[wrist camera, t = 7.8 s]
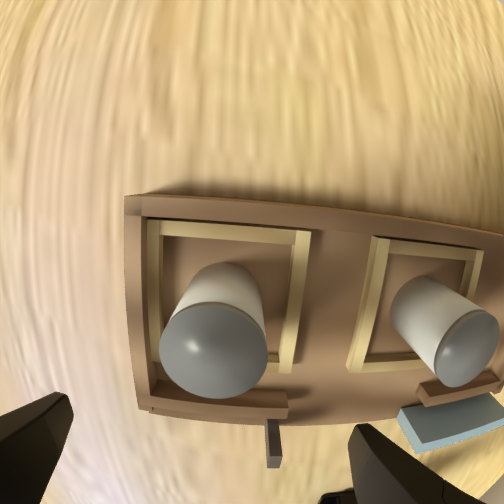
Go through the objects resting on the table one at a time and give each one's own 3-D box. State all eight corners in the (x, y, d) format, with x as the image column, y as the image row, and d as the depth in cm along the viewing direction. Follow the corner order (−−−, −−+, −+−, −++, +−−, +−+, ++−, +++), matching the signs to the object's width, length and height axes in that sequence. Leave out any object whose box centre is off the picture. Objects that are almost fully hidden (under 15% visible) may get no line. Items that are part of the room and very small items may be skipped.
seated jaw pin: (432, 334, 19) (482, 381, 12) (383, 336, 19) (427, 392, 12) (448, 277, 18) (508, 312, 12) (397, 274, 18) (455, 314, 11)
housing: (475, 393, 22) (502, 423, 17) (153, 403, 21) (134, 452, 16) (524, 238, 19) (567, 252, 13) (144, 193, 18) (104, 198, 12)
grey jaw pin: (257, 333, 19) (262, 401, 12) (187, 327, 18) (162, 392, 12) (264, 265, 18) (273, 311, 11) (188, 259, 17) (156, 302, 11)
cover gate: (478, 407, 21) (499, 432, 17) (392, 426, 21) (410, 462, 16) (487, 390, 20) (510, 414, 16) (400, 408, 20) (422, 443, 16)
